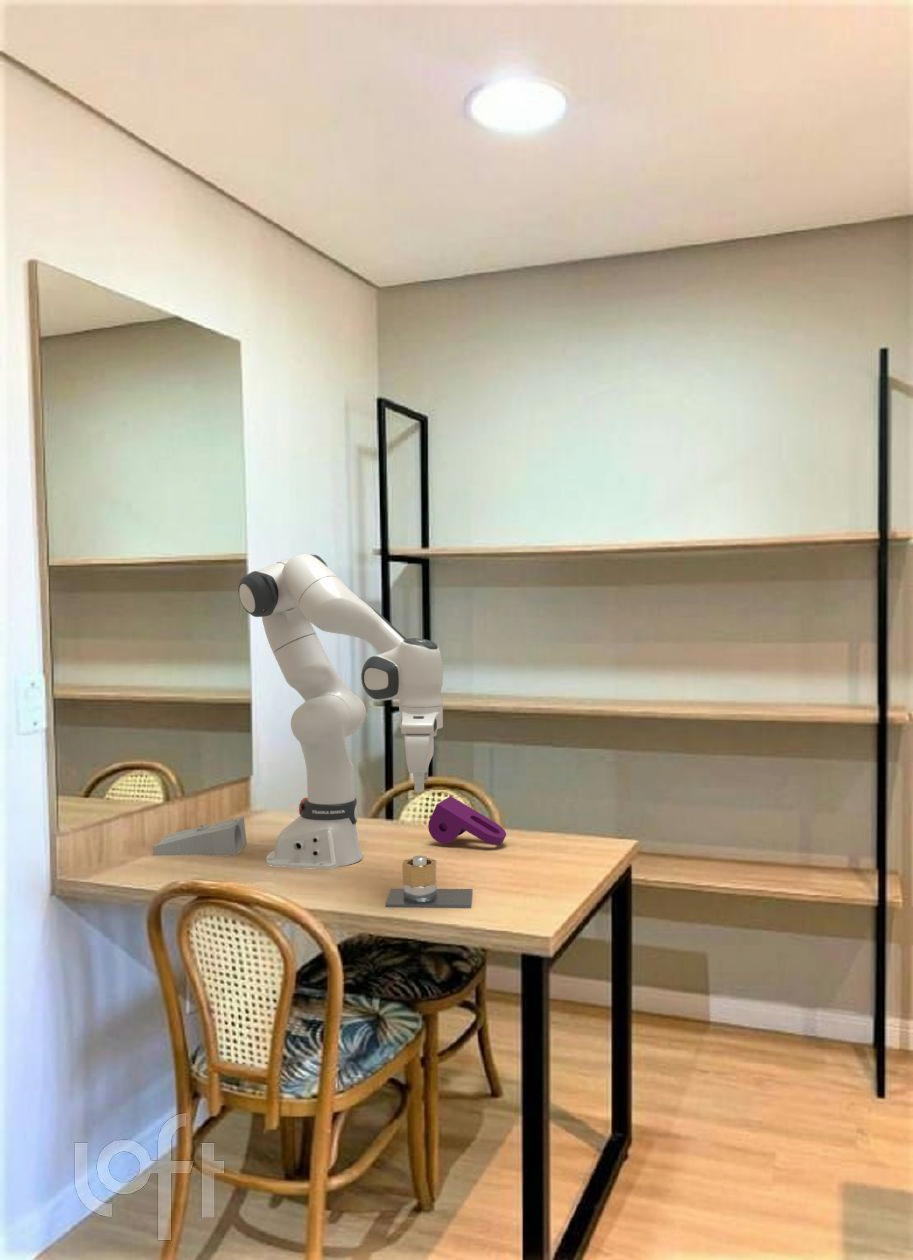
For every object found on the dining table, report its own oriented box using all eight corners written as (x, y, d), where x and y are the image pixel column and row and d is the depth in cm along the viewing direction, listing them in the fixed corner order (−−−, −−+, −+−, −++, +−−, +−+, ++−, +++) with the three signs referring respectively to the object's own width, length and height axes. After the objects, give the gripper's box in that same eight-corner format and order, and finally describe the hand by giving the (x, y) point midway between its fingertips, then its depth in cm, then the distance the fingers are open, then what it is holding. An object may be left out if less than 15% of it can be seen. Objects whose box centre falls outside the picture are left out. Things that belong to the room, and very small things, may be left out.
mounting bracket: (497, 860, 247) (437, 823, 252) (511, 831, 245) (450, 795, 250) (484, 870, 238) (423, 832, 243) (499, 841, 236) (436, 803, 242)
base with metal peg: (385, 909, 194) (384, 864, 193) (391, 893, 204) (390, 850, 203) (471, 909, 193) (470, 864, 192) (472, 893, 203) (472, 850, 202)
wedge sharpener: (235, 856, 234) (235, 827, 234) (153, 856, 235) (152, 827, 234) (246, 843, 245) (246, 816, 245) (167, 843, 246) (167, 816, 245)
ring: (401, 886, 195) (401, 866, 195) (405, 876, 202) (404, 857, 201) (434, 886, 195) (434, 867, 194) (437, 876, 201) (436, 857, 201)
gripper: (410, 711, 208) (411, 776, 209) (400, 726, 188) (400, 797, 189) (440, 711, 208) (440, 776, 209) (432, 726, 188) (433, 797, 188)
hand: (421, 786), depth 199 cm, fingers open, 8 cm apart
